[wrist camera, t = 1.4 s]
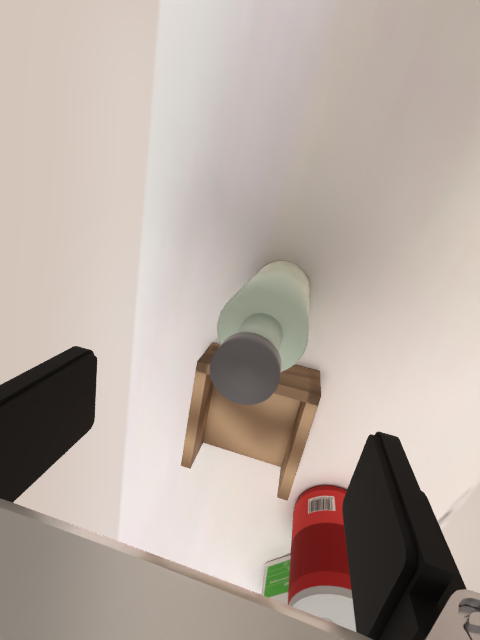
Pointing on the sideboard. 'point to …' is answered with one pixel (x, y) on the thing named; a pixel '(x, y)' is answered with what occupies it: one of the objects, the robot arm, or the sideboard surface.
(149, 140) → the sideboard surface
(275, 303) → the bottle
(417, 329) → the sideboard surface
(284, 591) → the skincare box
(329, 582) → the canned food
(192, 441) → the u rest
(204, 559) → the sideboard surface
